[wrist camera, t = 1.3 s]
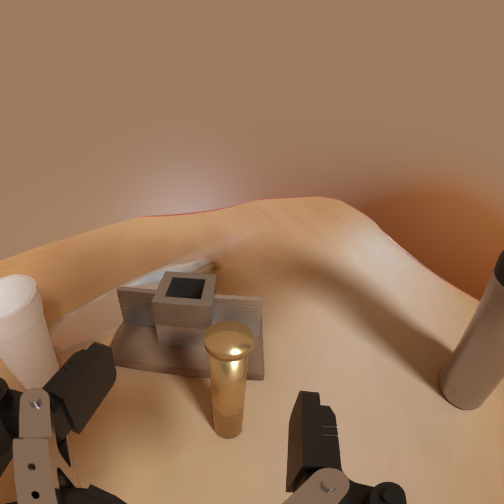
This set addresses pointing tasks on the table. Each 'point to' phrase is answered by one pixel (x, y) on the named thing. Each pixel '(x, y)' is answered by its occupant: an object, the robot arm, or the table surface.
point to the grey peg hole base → (173, 354)
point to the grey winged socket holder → (186, 308)
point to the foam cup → (25, 332)
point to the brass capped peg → (228, 373)
